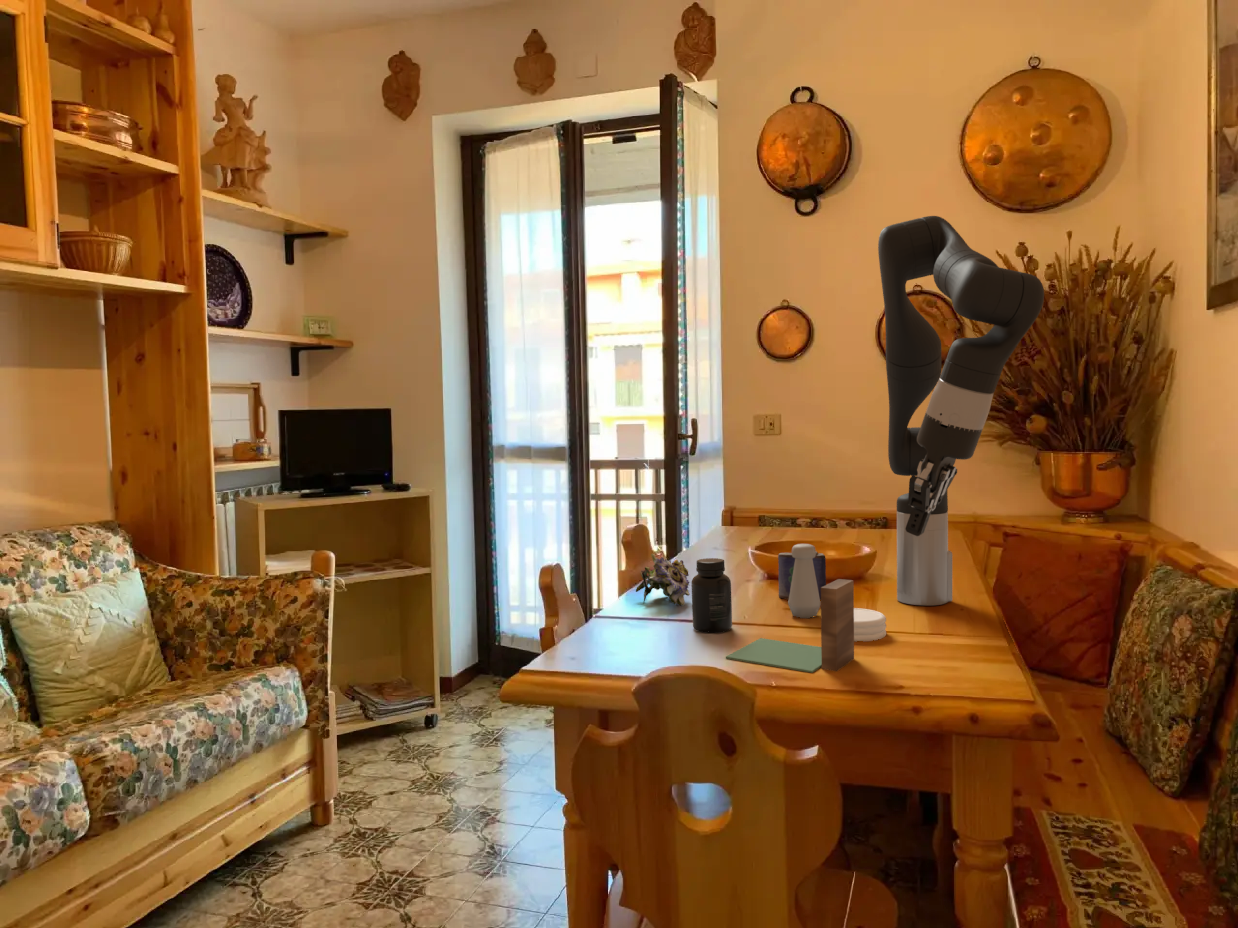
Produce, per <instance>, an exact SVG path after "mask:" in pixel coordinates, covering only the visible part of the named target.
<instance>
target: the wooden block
mask: <svg viewBox="0 0 1238 928" xmlns="http://www.w3.org/2000/svg"><path fill="white" fill-rule="evenodd" d="M854 584H855V583H854V580H852V579H845V578H843V579H842V578H837V579H836V580H834V581H831V582H829V583H826V585H825V586H823V587H821V601H820V603H821V604H820V626H821V627H820V632H821V633H820V635H821V636H820V637H821V640H820V641H821V643H820V644H821V646H820V647H821V654H822V667H821V670H825V671H826V670H827V671H832V672H838V671H840V670H841V669H842V668H843V667H845V666H846V665H848V664H849V663H851V662H852V661H854V660H855V641H854V608H855V605H854V604H855V603H854V602H855V601H854V599H855V595H854V590H855V589H854V588H855V587H854Z"/></svg>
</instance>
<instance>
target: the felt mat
mask: <svg viewBox="0 0 1238 928" xmlns="http://www.w3.org/2000/svg"><path fill="white" fill-rule="evenodd" d="M725 659H726V660H727V659H728V660H733V661H739V662H745V663H751V664H759V665H764V666H770V667H774V668H781V669H787V670H793V671H799V672H803V673H804V672H805V673H812V674H813V673H815V672H816V671H817V670H819V669H820V668H822V654H821V646H817V645H809V644H804V643H797V642H789V641H782V640H778V639H777V640H776V639H770V638H769V639H768V638H762V637H760V638H758V639H756V640H754V641H752V642H751V643H749V644H747V645H745V646H743V647H741V648H739V649H737V650H735V651H734V652H731V653H730V654H728V655H726V656H725Z"/></svg>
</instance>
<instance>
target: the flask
mask: <svg viewBox="0 0 1238 928" xmlns="http://www.w3.org/2000/svg"><path fill="white" fill-rule="evenodd" d="M777 559H778V569H777V570H778V579H777V580H778V598H779V599H784V600H789V595H790V588H791V582H792V576H793V570H794V564H795V558H794V557H792V552H780V553H778V555H777ZM812 559H813V565H814V570H815V576H816V581H817V586H818V592H819V597H820V600H821V587H823V586H825V585H827V575H826V573H827V572H826V570H827V569H826V568H827V566H826V561H827V560H826V559H827V558H826V555H825V554H824V553H822V552H821V553H820V552H818V551H816V556H815V557H814V558H812Z"/></svg>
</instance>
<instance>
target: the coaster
mask: <svg viewBox="0 0 1238 928" xmlns="http://www.w3.org/2000/svg"><path fill="white" fill-rule="evenodd" d="M886 622H887V617H886V615H884V614H883V613H882V612H880V611H877V610H874V609H869V608H861V607H859V608H858V607H854V642H857V641H863V642H872V641H873V640H874V641H878V639H879V640H881V639H884V638H885V637H886V635H887V631H886V628H887V624H886Z"/></svg>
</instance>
